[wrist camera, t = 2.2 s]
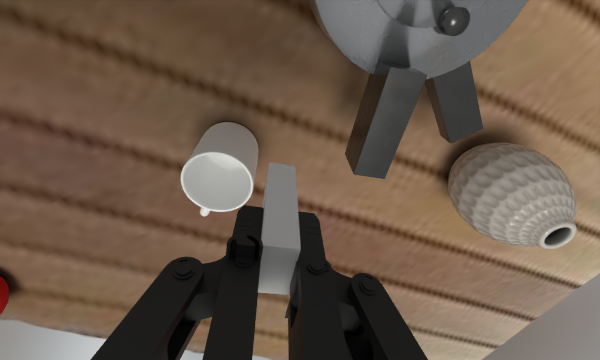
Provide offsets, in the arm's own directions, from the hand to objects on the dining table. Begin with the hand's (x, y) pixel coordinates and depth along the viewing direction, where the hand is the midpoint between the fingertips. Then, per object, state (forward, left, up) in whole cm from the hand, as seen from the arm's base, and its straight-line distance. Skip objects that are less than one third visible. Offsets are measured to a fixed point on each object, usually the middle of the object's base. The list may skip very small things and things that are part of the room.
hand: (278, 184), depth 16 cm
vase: (+26, +21, -24) cm, 41 cm away
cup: (+5, -12, -24) cm, 28 cm away
